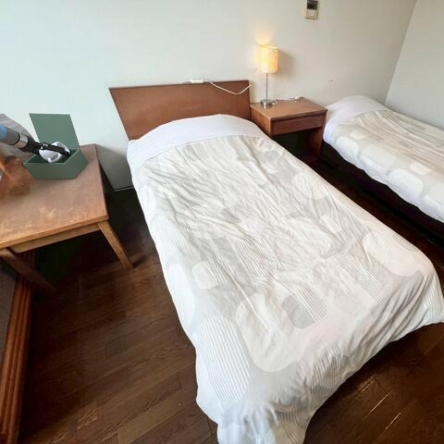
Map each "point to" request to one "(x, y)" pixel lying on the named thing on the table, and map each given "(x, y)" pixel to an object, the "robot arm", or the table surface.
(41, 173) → the chest
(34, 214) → the table surface
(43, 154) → the mug
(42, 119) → the lid
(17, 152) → the vase
